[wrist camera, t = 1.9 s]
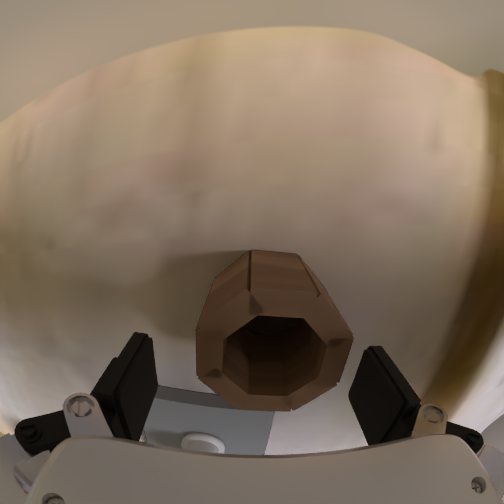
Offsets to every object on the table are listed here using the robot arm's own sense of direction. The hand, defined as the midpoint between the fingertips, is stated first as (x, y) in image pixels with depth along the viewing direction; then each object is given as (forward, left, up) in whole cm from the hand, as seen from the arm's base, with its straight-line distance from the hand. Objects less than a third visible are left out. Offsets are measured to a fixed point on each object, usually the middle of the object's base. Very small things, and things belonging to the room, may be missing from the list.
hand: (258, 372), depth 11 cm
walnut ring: (-1, 0, -7) cm, 7 cm away
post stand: (+3, +14, -7) cm, 16 cm away
